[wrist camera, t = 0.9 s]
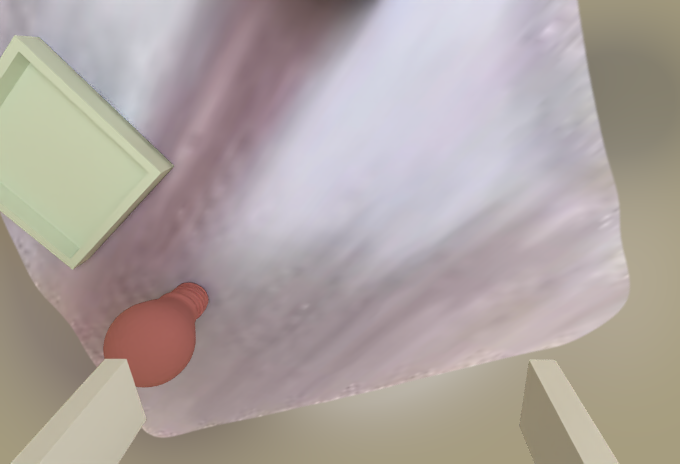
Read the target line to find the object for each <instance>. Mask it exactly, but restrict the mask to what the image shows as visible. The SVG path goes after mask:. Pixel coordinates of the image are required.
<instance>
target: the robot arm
mask: <svg viewBox="0 0 680 464" xmlns="http://www.w3.org/2000/svg"><path fill="white" fill-rule="evenodd" d="M145 421H146V417H145V413H144V410H143V407H142V404H141V401H140V398H139V395H138V392H137V389H136V386H135V383H134V380H133V377H132V374H131V371H130V368H129V365H128V362H127V359H105V360H104V361H103V362H102V363H101V364H100V365H99V366H98V367H97V369H96V370H95V371H94V372H93V373H92V374H91V375H90V376H89V377H88V378H87V379H86V380H85V382H84V383H83V384H82V385H81V386H80V387H79V388H78V389H77V390H76V392H75V393H74V394H73V395H72V396H71V397H70V398H69V399H68V400H67V401H66V403H65V404H64V405H63V406H62V407H61V408H60V409H59V410H58V411H57V413H56V414H55V415H54V416H53V417H52V418H51V419H50V420H49V421H48V422H47V423H46V425H45V426H44V427H43V428H42V429H41V430H40V431H39V432H38V433H37V435H36V436H35V437H34V438H33V439H32V440H31V441H30V442H29V443H28V445H27V446H26V447H25V448H24V449H23V450H22V451H21V452H20V453H19V454H18V456H17V457H16V458H15V459H14V460H13V461H12V462H11V463H10V464H118V463H119V462H120V460H121V459H122V457H123V455H124V454H125V452H126V451H127V449H128V447H129V446H130V444H131V443H132V441H133V440H134V438H135V437H136V435H137V433H138V432H139V430H140V429H141V427H142V426H143V424H144V422H145ZM519 426H520V429H521V431H522V434H523V436H524V439H525V441H526V444H527V446H528V448H529V451H530V453H531V456H532V458H533V461H534V463H535V464H619V463H618V461H617V460H616V458H615V456H614V455H613V453H612V451H611V450H610V448H609V447H608V445H607V443H606V442H605V440H604V438H603V437H602V435H601V434H600V432H599V430H598V429H597V427H596V426H595V424H594V422H593V420H592V419H591V417H590V416H589V414H588V412H587V411H586V409H585V408H584V406H583V404H582V403H581V401H580V399H579V398H578V396H577V395H576V393H575V391H574V390H573V388H572V387H571V385H570V383H569V382H568V380H567V378H566V377H565V375H564V373H563V372H562V370H561V369H560V367H559V365H558V364H557V362H556V361H555V360H529V364H528V371H527V378H526V384H525V391H524V398H523V404H522V411H521V418H520V424H519Z"/></svg>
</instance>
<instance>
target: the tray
mask: <svg viewBox="0 0 680 464" xmlns="http://www.w3.org/2000/svg"><path fill="white" fill-rule="evenodd" d="M173 167H174V165H173V164H172V163H171V162H169V161H168V160H167V159H166V158H165V157H164V156H163V155H162V154H161V153H160V152H159V151H158V150H157V149H156V148H155V147H154V146H153V145H152V144H151V143H150V142H148V141H147V140H146V139H145V138H144V137H143V136H142V135H141V134H140V133H139V132H138V131H137V130H136V129H135V128H134V127H133V126H132V125H131V124H130V123H129V122H128V121H126V120H125V119H124V118H123V117H122V116H121V115H120V114H119V113H118V112H117V111H116V110H115V109H114V108H113V107H112V106H111V105H110V104H109V103H108V102H107V101H105V100H104V99H103V98H102V97H101V96H100V95H99V94H98V93H97V92H96V91H95V90H94V89H93V88H92V87H91V86H90V85H89V84H88V83H87V82H86V81H84V80H83V79H82V78H81V77H80V76H79V75H78V74H77V73H76V72H75V71H74V70H73V69H72V68H71V67H70V66H69V65H68V64H67V63H66V62H65V61H64V60H62V59H61V58H60V57H59V56H58V55H57V54H56V53H55V52H54V51H53V50H52V49H51V48H50V47H49V46H48V45H47V44H46V43H45V42H44V41H43V40H41V39H40V38H39V37H28V36H16V35H15V36H14V37H13V39H12V40H11V42H10V44H9V45H8V47H7V48H6V50H5V51H4V53H3V55H2V56H1V58H0V211H1V212H2V213H3V214H5V215H6V216H7V217H8V218H10V219H11V220H12V221H13V222H14V223H16V224H17V225H18V226H19V227H21V228H22V229H23V230H24V231H26V232H27V233H28V234H29V235H30V236H32V237H33V238H34V239H35V240H37V241H38V242H39V243H40V244H42V245H43V246H44V247H45V248H47V249H48V250H49V251H50V252H51V253H53V254H54V255H55V256H56V257H58V258H59V259H60V260H61V261H63V262H64V263H65V264H66V265H68V266H69V267H70V268H71V269H72V270H73V269H74V268H76V267H77V266H79V265H80V264H81V263H83V262H84V261H86V260H87V259H89V258H90V257H91V256H92V255H93V254H94V252H95V251H96V250H97V249H98V248H99V247H100V246H101V245H102V244H103V243H104V242H105V241H106V239H107V238H108V237H109V236H110V235H111V234H112V233H113V232H114V231H115V230H116V229H117V228H118V226H119V225H120V224H121V223H122V222H123V221H124V220H125V219H126V218H127V217H128V216H129V215H130V213H131V212H132V211H133V210H134V209H135V208H136V207H137V206H138V205H139V204H140V203H141V202H142V200H143V199H144V198H145V197H146V196H147V195H148V194H149V193H150V192H151V191H152V190H153V189H154V187H155V186H156V185H157V184H158V183H159V182H160V181H161V180H162V179H163V178H164V177H165V176H166V174H167V173H168V172H169V171H170V170H171V169H172V168H173Z"/></svg>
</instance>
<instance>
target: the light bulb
mask: <svg viewBox="0 0 680 464" xmlns="http://www.w3.org/2000/svg"><path fill="white" fill-rule="evenodd" d="M207 304H208V295H207V293H206V291H205V290H204V289H203V288H202V287H201V286H199V285H197V284H194V283H183V284H181V285H179V286H178V287H177V288H176V289H174V290H173V291H172V292H171V293H167V294H165V295H163V296H161V297H160V298H159V299H155V300H150V301H146V302H142V303H139V304H136V305H134V306H132V307H130V308H128V309H126V310H125V311H124V312H122V313H121V314H120V315H119V316H118V317H117V318H116V319H115V320H114V321H113V323H112V324H111V326H110V327H109V329H108V331H107V333H106V337H105V340H104V347H103V350H104V358H105V359H127V362H128V365H129V368H130V371H131V374H132V377H133V380H134V383H135V386H136V387H153V386H158V385H161V384H164V383H166V382H168V381H170V380H171V379H173V378H174V377H176V376H177V375H178V374H179V373H180V372H181V371H182V370H183V369H184V368H185V367H186V366H187V364H188V363H189V361H190V359H191V357H192V355H193V352H194V348H195V342H196V337H195V321H196V319H197V318H199V317H200V316H201V314H202V313H203V312H204V310H205V309H206V307H207Z"/></svg>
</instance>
